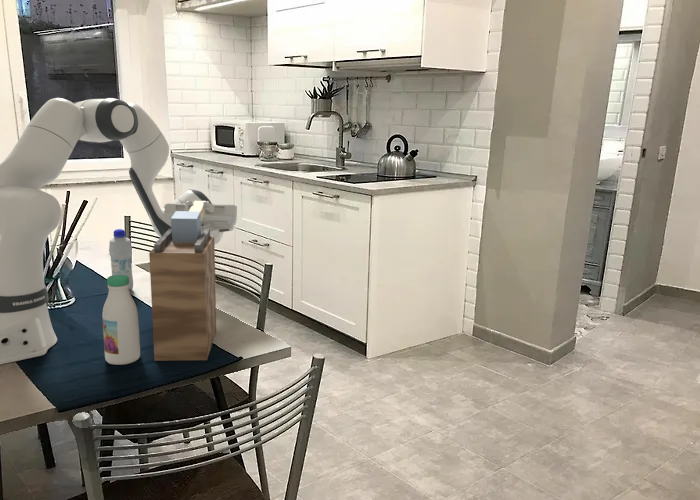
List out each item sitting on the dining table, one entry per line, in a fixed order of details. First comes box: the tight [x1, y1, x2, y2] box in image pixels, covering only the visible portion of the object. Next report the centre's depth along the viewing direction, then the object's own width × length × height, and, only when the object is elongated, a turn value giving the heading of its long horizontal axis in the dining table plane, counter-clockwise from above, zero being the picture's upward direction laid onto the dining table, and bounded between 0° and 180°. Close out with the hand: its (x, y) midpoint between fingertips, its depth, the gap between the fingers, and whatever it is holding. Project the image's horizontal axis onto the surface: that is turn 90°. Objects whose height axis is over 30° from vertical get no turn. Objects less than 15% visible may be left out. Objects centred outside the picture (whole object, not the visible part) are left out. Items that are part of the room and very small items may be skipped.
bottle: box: [108, 228, 134, 292], centre depth 180 cm, size 7×7×20 cm
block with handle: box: [171, 201, 206, 243], centre depth 151 cm, size 26×6×6 cm, turn 6°
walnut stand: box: [148, 229, 217, 362], centre depth 141 cm, size 18×12×28 cm, turn 6°
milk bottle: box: [101, 275, 141, 366], centre depth 133 cm, size 8×8×20 cm
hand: (197, 203), depth 159 cm, fingers closed on block with handle, 3 cm apart
